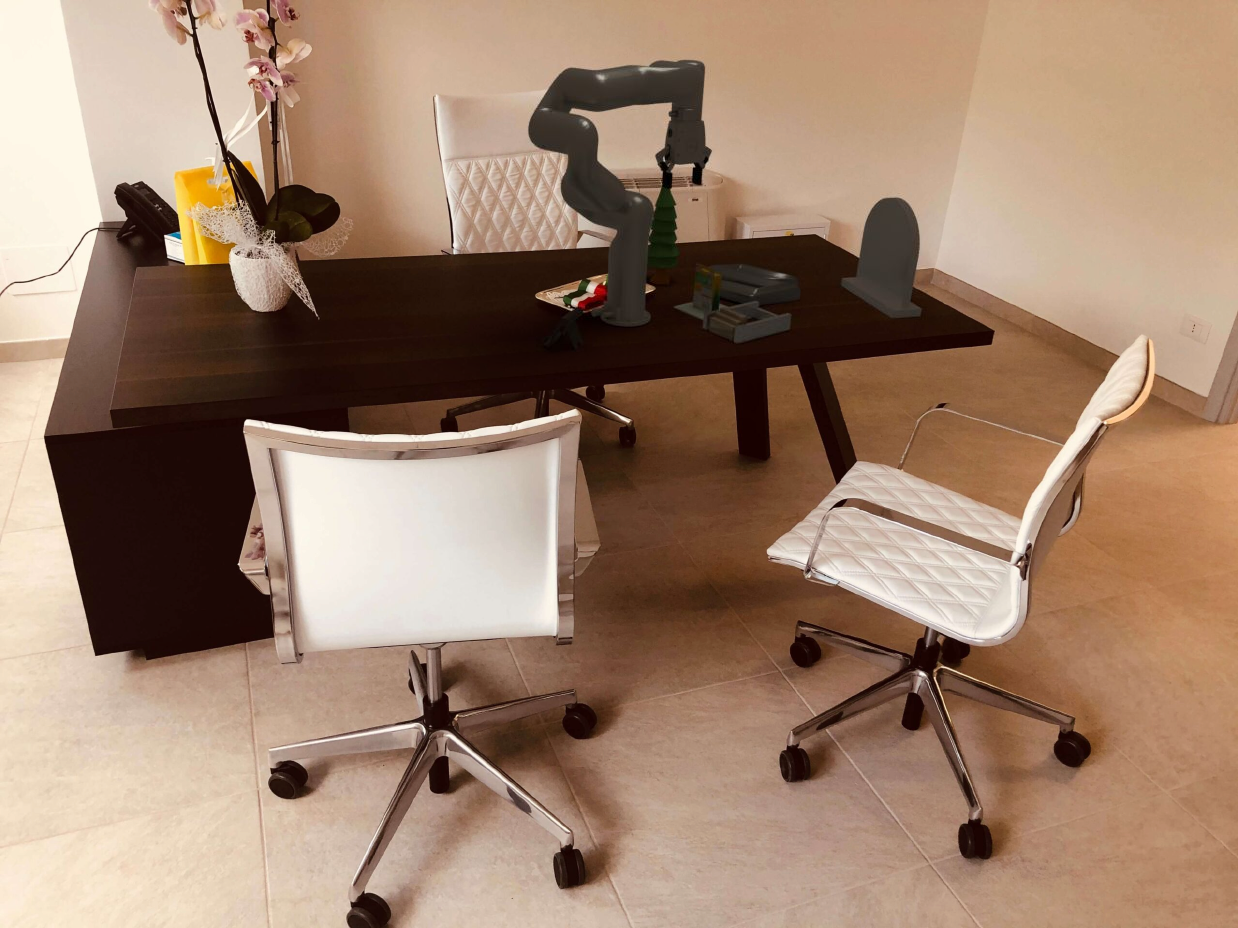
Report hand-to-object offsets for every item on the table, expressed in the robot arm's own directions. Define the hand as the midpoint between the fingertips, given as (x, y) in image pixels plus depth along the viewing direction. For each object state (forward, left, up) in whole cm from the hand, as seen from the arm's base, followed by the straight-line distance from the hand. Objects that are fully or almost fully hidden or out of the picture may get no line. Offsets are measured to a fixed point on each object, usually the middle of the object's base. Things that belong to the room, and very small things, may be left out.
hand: (681, 186), depth 244 cm
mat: (+2, -10, -30) cm, 32 cm away
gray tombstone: (+49, -30, -30) cm, 65 cm away
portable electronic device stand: (-43, -11, -30) cm, 54 cm away
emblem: (+23, -4, -31) cm, 39 cm away
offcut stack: (-6, -26, -30) cm, 41 cm away
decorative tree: (+8, +16, -30) cm, 35 cm away
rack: (+1, -26, -30) cm, 40 cm away
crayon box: (+2, -10, -30) cm, 32 cm away
